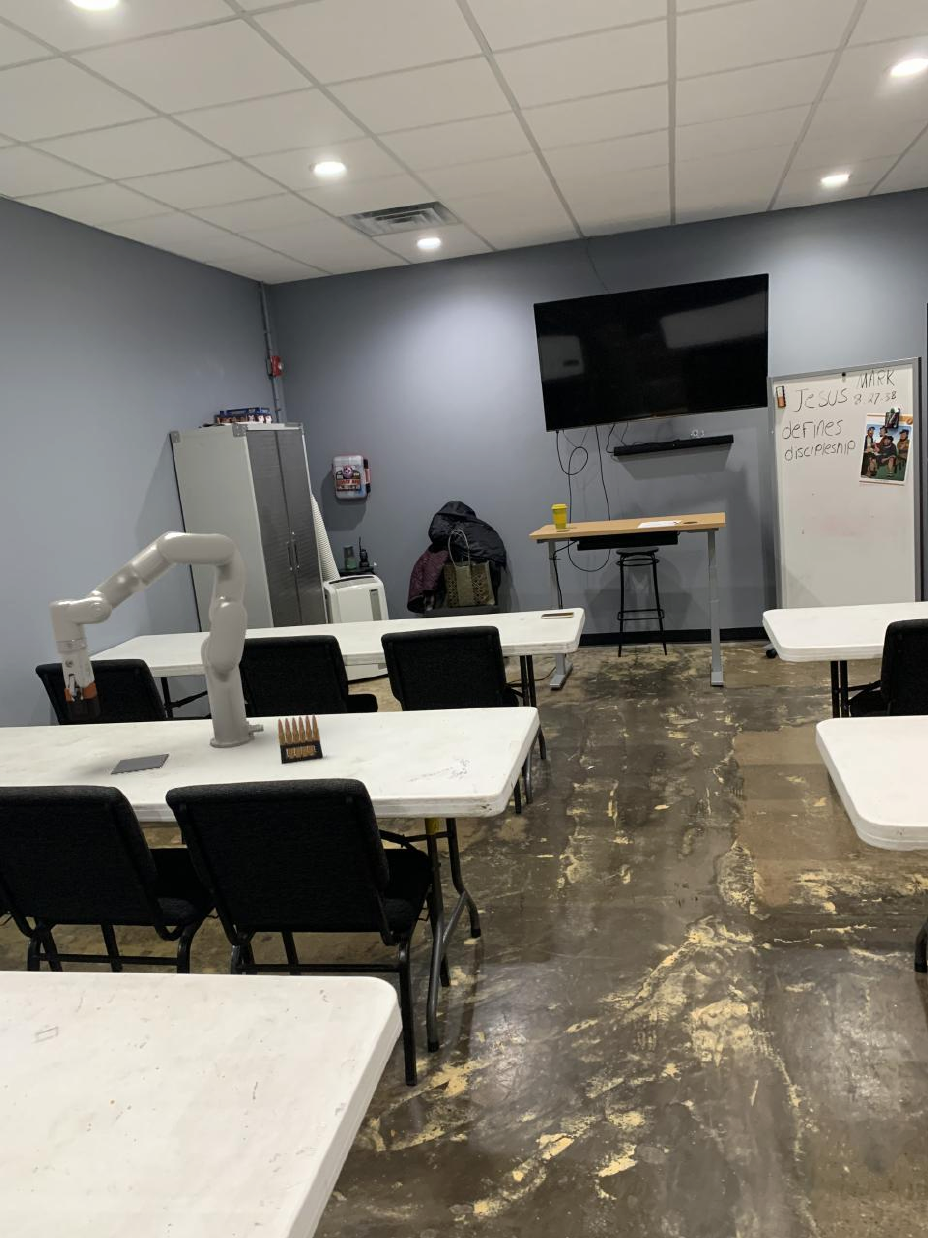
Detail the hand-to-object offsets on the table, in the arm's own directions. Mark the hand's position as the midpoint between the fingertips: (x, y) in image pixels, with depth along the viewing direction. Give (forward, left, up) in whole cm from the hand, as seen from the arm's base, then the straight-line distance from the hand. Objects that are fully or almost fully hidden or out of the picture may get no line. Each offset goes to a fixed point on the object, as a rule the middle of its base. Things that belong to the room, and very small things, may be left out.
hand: (84, 710), depth 233 cm
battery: (0, 0, -2) cm, 2 cm away
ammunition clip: (-57, +17, -17) cm, 62 cm away
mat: (-12, +1, -17) cm, 21 cm away
